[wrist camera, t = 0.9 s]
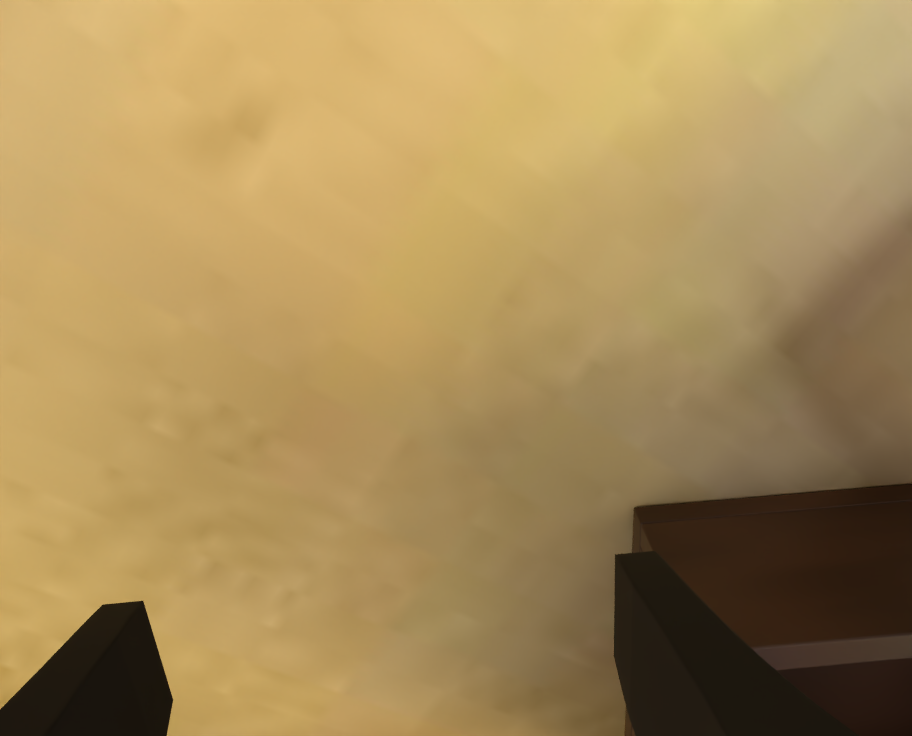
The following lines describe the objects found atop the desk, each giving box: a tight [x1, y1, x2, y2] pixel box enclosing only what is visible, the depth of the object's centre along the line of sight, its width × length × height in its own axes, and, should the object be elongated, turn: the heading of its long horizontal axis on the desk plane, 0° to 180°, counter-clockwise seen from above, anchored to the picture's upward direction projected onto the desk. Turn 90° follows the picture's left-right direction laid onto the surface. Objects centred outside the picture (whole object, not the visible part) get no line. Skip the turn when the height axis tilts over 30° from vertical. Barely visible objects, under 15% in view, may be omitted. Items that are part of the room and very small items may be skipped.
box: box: [625, 484, 912, 736], centre depth 24 cm, size 12×11×6 cm
